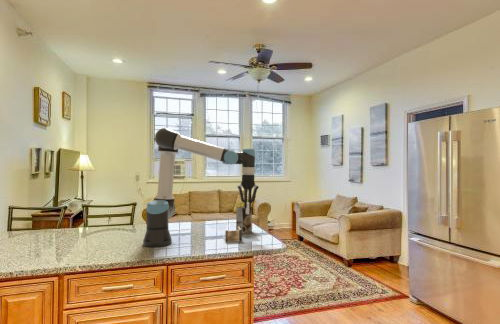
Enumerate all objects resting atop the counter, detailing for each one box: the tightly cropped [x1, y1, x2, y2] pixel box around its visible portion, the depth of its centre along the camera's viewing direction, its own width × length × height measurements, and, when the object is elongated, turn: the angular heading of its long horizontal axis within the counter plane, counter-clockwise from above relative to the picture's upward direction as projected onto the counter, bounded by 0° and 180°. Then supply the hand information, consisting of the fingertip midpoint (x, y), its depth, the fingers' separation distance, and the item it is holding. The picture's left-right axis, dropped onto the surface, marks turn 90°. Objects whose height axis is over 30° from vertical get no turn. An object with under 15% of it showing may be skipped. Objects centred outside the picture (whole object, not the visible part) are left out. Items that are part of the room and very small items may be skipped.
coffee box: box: [235, 206, 253, 234], centre depth 206 cm, size 9×6×16 cm
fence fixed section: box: [224, 229, 243, 243], centre depth 180 cm, size 10×2×6 cm, turn 103°
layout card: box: [221, 234, 261, 244], centre depth 186 cm, size 20×16×1 cm
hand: (247, 213), depth 190 cm, fingers closed
